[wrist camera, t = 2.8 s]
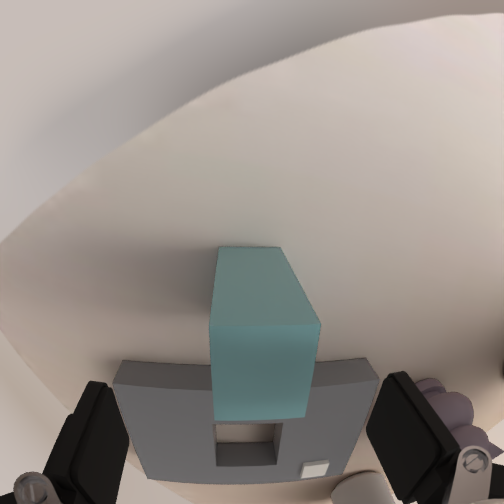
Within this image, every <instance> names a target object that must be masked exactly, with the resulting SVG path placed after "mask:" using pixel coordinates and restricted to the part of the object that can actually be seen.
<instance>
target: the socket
mask: <svg viewBox="0 0 504 504" xmlns="http://www.w3.org/2000/svg"><path fill="white" fill-rule="evenodd" d="M379 380H380V379H379V377H378V376H377V374H376V372H375V371H374V369H373V368H372V366H371V364H370V363H369V361H368V360H367V358H361V359H352V360H341V361H330V362H317V363H315V365H314V371H313V377H312V382H311V388H310V393H309V398H308V403H307V408H306V413H305V417H302V418H289V419H273V420H245V421H217V420H214V407H213V392H212V376H211V365H185V364H165V363H150V362H137V361H126V360H123V361H122V364H121V366H120V368H119V370H118V372H117V374H116V376H115V379H114V381H113V383H112V384H113V387H114V390H115V394H116V397H117V400H118V403H119V406H120V409H121V412H122V415H123V418H124V421H125V424H126V427H127V429H128V432H129V435H130V437H131V440H132V443H133V445H134V448H135V450H136V453H137V455H138V458H139V460H140V462H141V465H142V467H143V469H144V472H145V474H146V476H147V478H148V479H153V480H161V481H170V482H182V483H196V484H264V483H279V482H290V481H300V480H308V479H316V478H323V477H329V476H335V475H341V474H342V473H343V471H344V469H345V467H346V465H347V463H348V460H349V458H350V456H351V454H352V451H353V449H354V447H355V444H356V442H357V440H358V437H359V435H360V432H361V430H362V427H363V425H364V422H365V420H366V417H367V414H368V412H369V409H370V406H371V403H372V401H373V398H374V395H375V392H376V389H377V386H378V383H379ZM268 423H275V431H274V439H273V442H263V443H217V440H216V427H215V424H268Z"/></svg>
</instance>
